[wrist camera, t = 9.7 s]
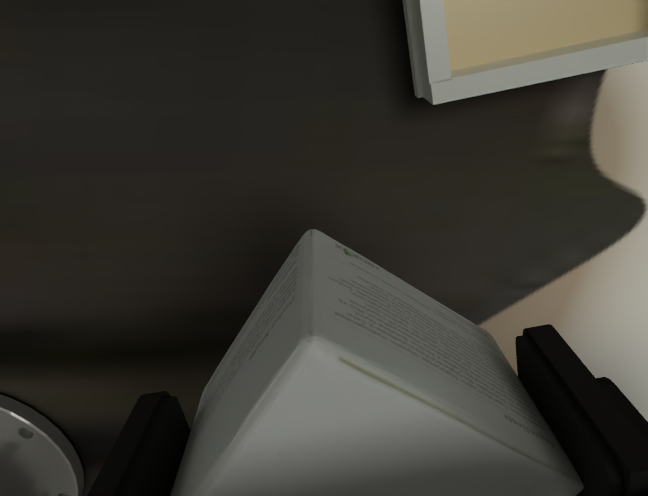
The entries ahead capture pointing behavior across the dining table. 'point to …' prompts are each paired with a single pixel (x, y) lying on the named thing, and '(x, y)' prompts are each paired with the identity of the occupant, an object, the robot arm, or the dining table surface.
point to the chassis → (517, 42)
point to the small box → (365, 396)
